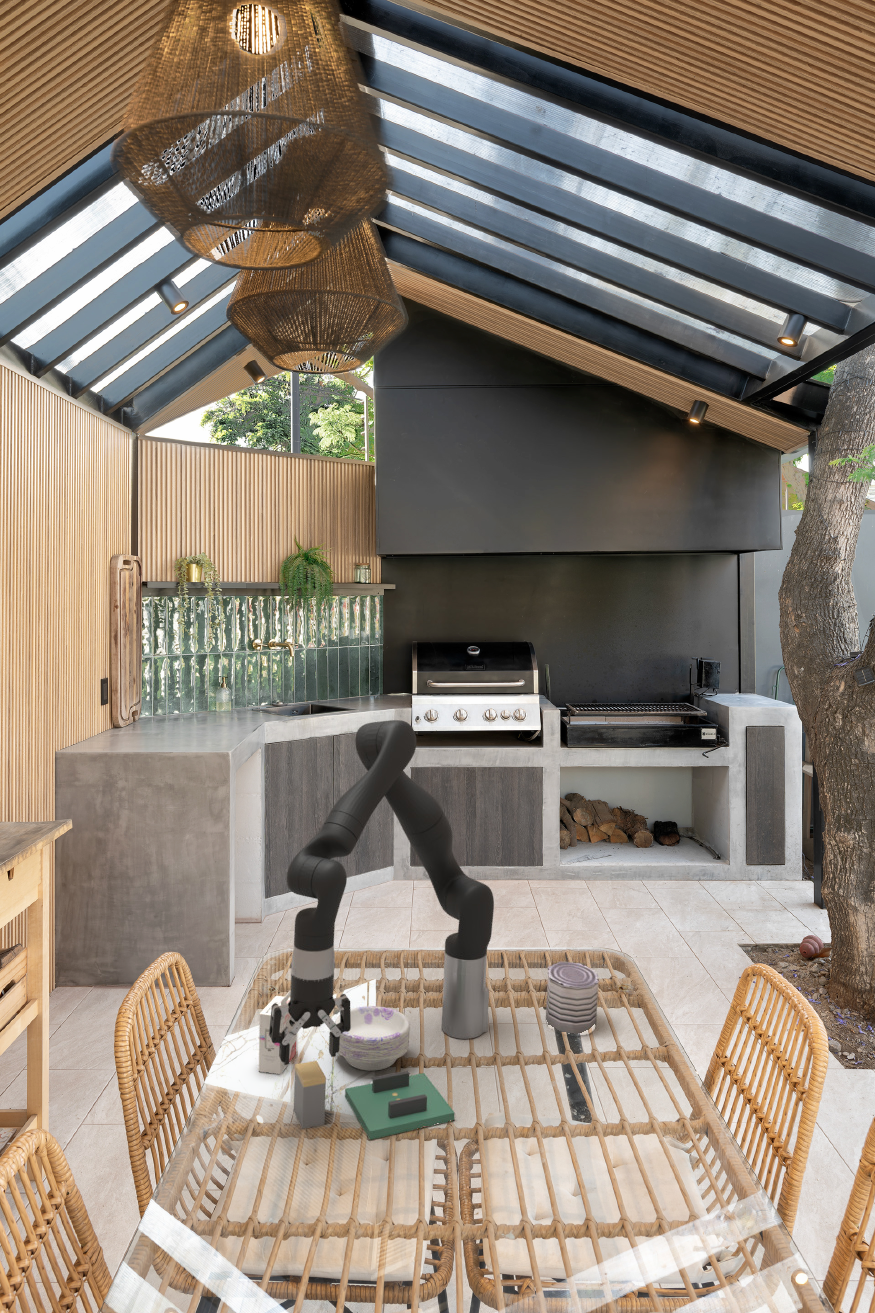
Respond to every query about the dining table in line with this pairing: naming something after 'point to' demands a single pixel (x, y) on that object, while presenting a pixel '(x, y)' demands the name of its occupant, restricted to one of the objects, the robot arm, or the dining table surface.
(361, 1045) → the paper bowls
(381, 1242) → the dining table surface
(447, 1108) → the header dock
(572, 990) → the can
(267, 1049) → the ink cartridge box
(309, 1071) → the block
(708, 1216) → the dining table surface
